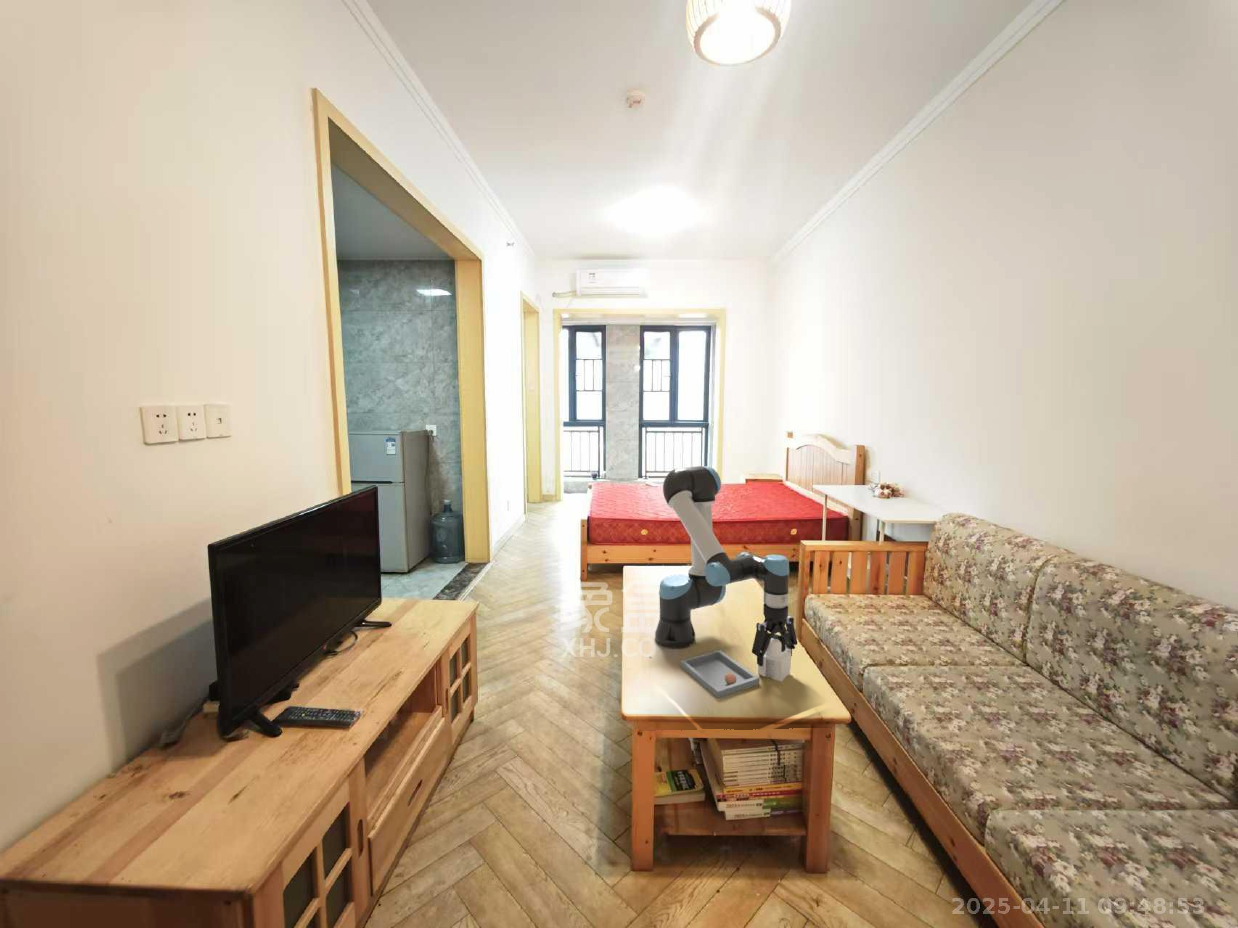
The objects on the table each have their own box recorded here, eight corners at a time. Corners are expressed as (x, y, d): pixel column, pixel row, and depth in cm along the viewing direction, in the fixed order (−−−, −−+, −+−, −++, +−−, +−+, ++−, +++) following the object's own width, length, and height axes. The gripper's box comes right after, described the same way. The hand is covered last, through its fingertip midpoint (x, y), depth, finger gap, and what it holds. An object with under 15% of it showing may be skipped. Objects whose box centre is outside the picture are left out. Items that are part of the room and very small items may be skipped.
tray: (680, 669, 159) (680, 660, 158) (719, 657, 166) (719, 649, 165) (717, 701, 141) (717, 691, 141) (759, 687, 148) (759, 677, 147)
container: (767, 666, 160) (768, 629, 158) (790, 674, 155) (791, 636, 153) (758, 676, 154) (758, 638, 152) (781, 684, 149) (782, 645, 148)
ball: (722, 682, 149) (722, 672, 148) (731, 680, 150) (731, 669, 150) (729, 688, 145) (729, 677, 145) (738, 685, 147) (738, 674, 147)
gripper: (756, 615, 144) (755, 685, 146) (810, 601, 153) (808, 667, 156) (740, 606, 150) (739, 673, 153) (792, 593, 160) (791, 656, 162)
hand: (774, 670), depth 154 cm, fingers closed on container, 10 cm apart
